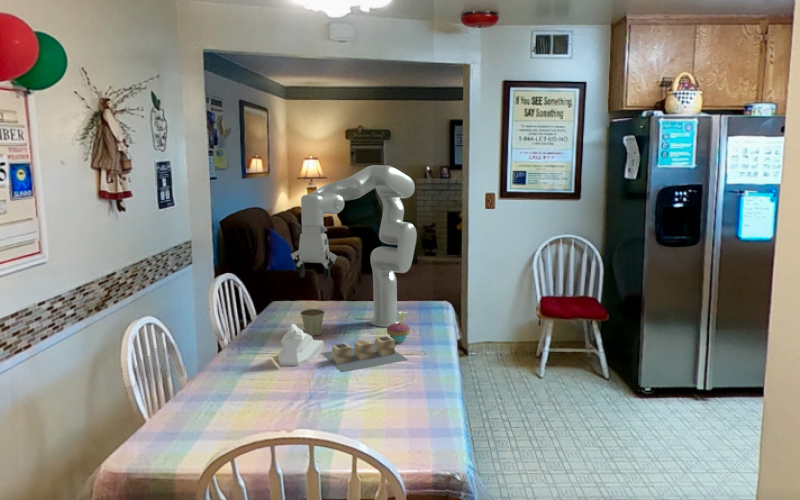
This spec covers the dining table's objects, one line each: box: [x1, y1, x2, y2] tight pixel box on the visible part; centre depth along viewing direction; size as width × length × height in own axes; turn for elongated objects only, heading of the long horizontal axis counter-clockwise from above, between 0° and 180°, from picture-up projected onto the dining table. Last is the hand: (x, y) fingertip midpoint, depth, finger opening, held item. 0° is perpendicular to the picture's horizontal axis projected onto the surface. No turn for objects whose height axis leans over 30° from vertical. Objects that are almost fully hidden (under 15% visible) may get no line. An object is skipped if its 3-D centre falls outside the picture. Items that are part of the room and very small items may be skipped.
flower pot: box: [300, 308, 325, 337], centre depth 226 cm, size 9×9×9 cm
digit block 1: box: [331, 342, 352, 364], centre depth 196 cm, size 5×5×5 cm
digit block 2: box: [375, 335, 396, 356], centre depth 203 cm, size 5×5×5 cm
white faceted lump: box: [277, 323, 325, 366], centre depth 196 cm, size 12×15×14 cm
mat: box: [320, 343, 409, 373], centre depth 200 cm, size 24×20×1 cm
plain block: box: [353, 338, 374, 360], centre depth 199 cm, size 5×5×5 cm
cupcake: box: [386, 310, 411, 343], centre depth 215 cm, size 9×8×12 cm
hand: (314, 278), depth 206 cm, fingers open, 9 cm apart
